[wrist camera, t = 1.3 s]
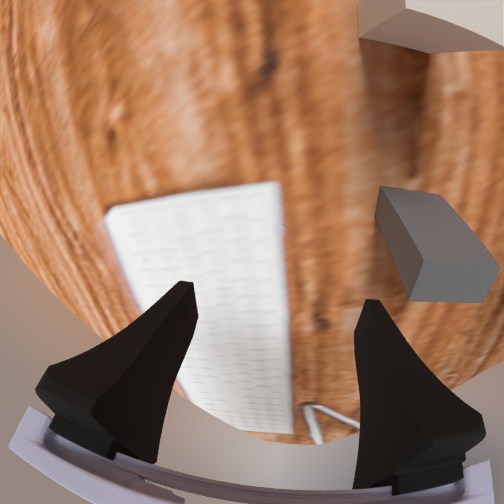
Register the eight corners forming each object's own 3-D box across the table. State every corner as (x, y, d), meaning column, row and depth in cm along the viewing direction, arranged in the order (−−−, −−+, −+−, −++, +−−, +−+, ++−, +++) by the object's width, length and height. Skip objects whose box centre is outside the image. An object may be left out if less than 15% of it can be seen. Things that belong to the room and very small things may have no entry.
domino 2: (432, 223, 19) (482, 302, 12) (374, 216, 20) (408, 300, 13) (440, 195, 18) (500, 266, 11) (380, 186, 19) (424, 260, 11)
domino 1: (429, 54, 13) (511, 50, 5) (358, 37, 13) (405, 8, 6) (429, 23, 12) (507, 2, 4) (357, 5, 12) (401, -43, 5)
